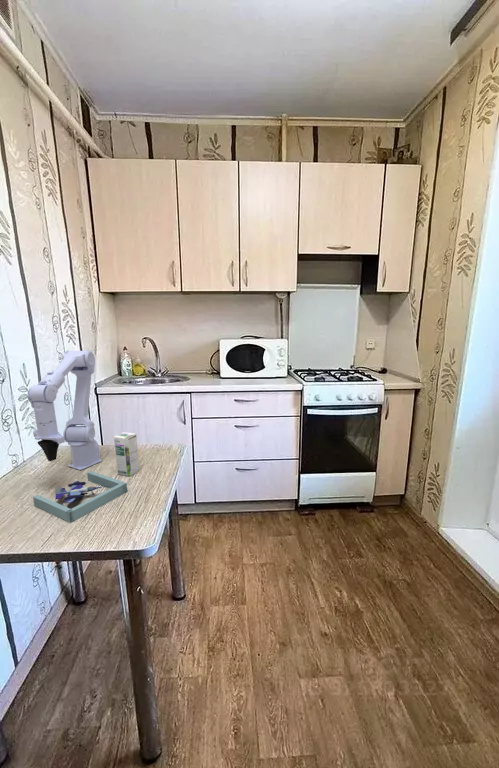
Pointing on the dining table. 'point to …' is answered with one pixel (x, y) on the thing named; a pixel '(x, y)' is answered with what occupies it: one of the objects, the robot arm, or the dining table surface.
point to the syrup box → (126, 453)
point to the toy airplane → (74, 491)
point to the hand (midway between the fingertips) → (52, 459)
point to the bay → (88, 506)
